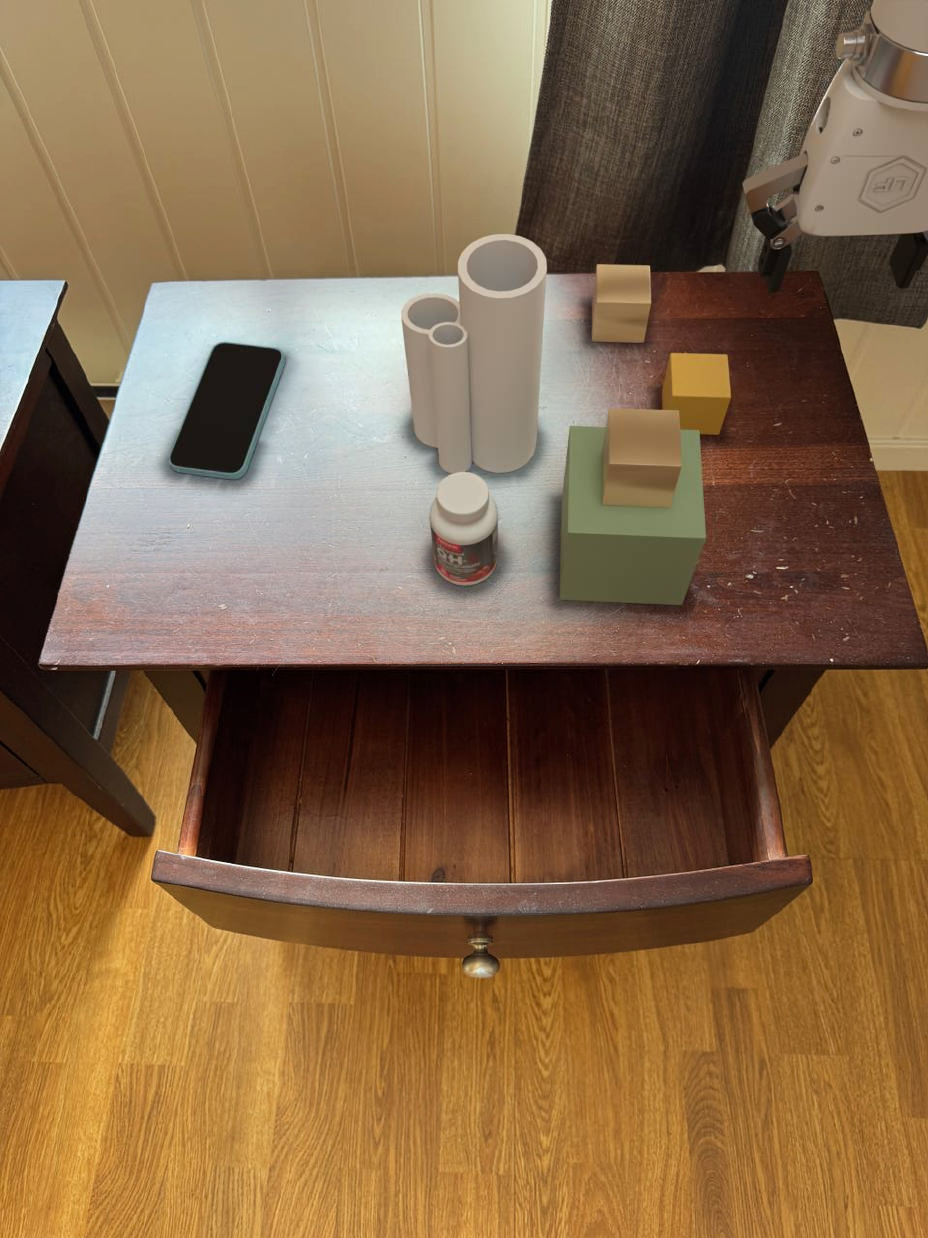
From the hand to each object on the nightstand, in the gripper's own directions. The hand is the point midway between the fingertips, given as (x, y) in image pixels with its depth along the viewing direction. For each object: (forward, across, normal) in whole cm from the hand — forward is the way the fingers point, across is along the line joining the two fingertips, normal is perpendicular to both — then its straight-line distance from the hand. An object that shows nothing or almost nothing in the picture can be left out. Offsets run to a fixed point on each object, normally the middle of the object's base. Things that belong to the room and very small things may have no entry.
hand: (833, 277), depth 71 cm
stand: (+16, -16, -14) cm, 26 cm away
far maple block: (+16, -13, +12) cm, 24 cm away
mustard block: (+16, -8, +1) cm, 18 cm away
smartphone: (+16, -50, +3) cm, 53 cm away
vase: (+16, -28, -2) cm, 32 cm away
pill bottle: (+16, -29, -14) cm, 36 cm away
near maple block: (+6, -16, -14) cm, 22 cm away
